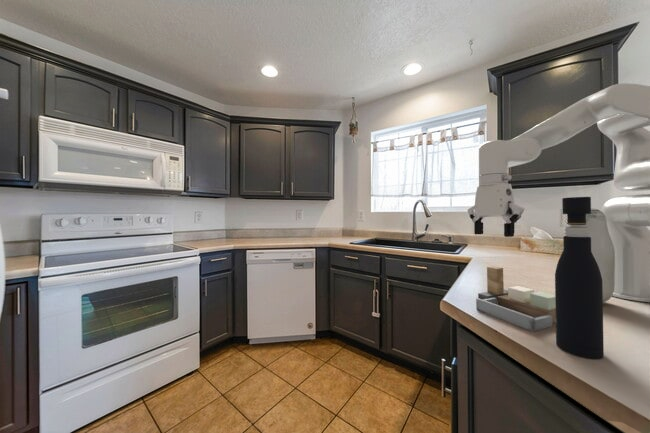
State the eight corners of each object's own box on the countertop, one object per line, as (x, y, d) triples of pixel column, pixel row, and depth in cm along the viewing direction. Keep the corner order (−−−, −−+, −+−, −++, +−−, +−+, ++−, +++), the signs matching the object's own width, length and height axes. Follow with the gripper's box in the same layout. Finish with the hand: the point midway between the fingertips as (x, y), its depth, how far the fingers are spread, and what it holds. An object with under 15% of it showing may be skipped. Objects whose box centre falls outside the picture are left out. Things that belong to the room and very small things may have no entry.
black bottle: (614, 361, 44) (611, 195, 43) (572, 357, 45) (569, 196, 45) (584, 342, 50) (581, 197, 50) (548, 340, 51) (545, 199, 51)
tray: (494, 305, 70) (494, 295, 70) (552, 326, 57) (552, 313, 57) (476, 309, 68) (476, 298, 68) (532, 331, 55) (532, 318, 55)
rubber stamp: (503, 295, 79) (502, 265, 79) (512, 298, 76) (512, 266, 76) (478, 299, 76) (477, 268, 76) (487, 302, 73) (486, 270, 73)
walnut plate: (526, 301, 73) (525, 291, 73) (577, 316, 62) (577, 305, 62) (497, 306, 69) (497, 296, 69) (547, 324, 58) (547, 312, 58)
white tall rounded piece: (568, 293, 79) (567, 208, 79) (617, 303, 70) (616, 207, 70) (560, 300, 73) (558, 208, 73) (612, 311, 65) (610, 207, 65)
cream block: (518, 296, 69) (517, 285, 69) (533, 300, 65) (533, 289, 65) (508, 298, 68) (508, 287, 68) (523, 302, 64) (523, 291, 64)
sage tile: (540, 302, 64) (540, 291, 64) (559, 308, 60) (558, 296, 60) (530, 304, 63) (530, 293, 63) (548, 310, 59) (548, 298, 59)
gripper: (531, 177, 69) (532, 237, 69) (476, 184, 85) (476, 233, 85) (513, 176, 67) (513, 238, 67) (460, 184, 83) (460, 233, 83)
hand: (493, 235), depth 76 cm, fingers open, 9 cm apart
